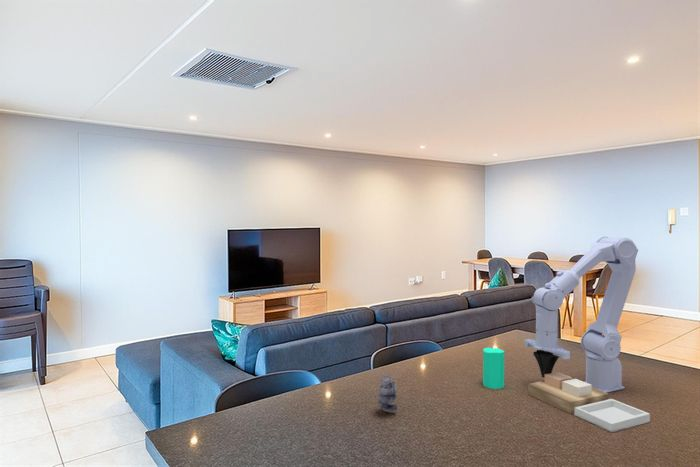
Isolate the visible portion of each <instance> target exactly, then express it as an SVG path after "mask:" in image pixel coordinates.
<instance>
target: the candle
mask: <svg viewBox="0 0 700 467" xmlns="http://www.w3.org/2000/svg"><path fill="white" fill-rule="evenodd" d="M482 351H483V352H482V353H483V360H482V361H483V363H482V367H483V368H482V385H483V387H485V388H488V389H493V390H501V389H504V387H505V350H503V349H501V348H499V347H496V348H495V347H493V348H492V347H486V348H485V347H484V348H483V349H482Z"/></svg>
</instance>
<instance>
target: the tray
mask: <svg viewBox="0 0 700 467" xmlns="http://www.w3.org/2000/svg"><path fill="white" fill-rule="evenodd" d="M574 417H576V418H580V419H582V420H583V421H586V422H588V423H590V424H592V425H594V426H597V427H599V428H601V429H603V430H605V431H608V432H610V433H615V432H619V431H623V430H627V429H630V428H633V427H636V426H639V425H640V426H641V425H643V424H647V423H650V422H651V413H649V412H647V411H644V410H642V409H640V408H638V407H637V408H636V407H634V406H631V405H630V404H629V405H628V404H626V403H624V402H622V401H618V400H616V399H614V398H609V399H608V400H604V401H600V402H596V403H592V404H587V405H583V406H579V407H575V413H574Z"/></svg>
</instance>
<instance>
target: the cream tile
mask: <svg viewBox="0 0 700 467" xmlns="http://www.w3.org/2000/svg"><path fill="white" fill-rule="evenodd" d="M562 391H565V392H567V393H569V394H572V395H574V396H576V397H581V396H586V395H590V394H592V385H591V384H588V383H586V382H584V381H583V380H580V379H577V378H572V380H567V381H562Z"/></svg>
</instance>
